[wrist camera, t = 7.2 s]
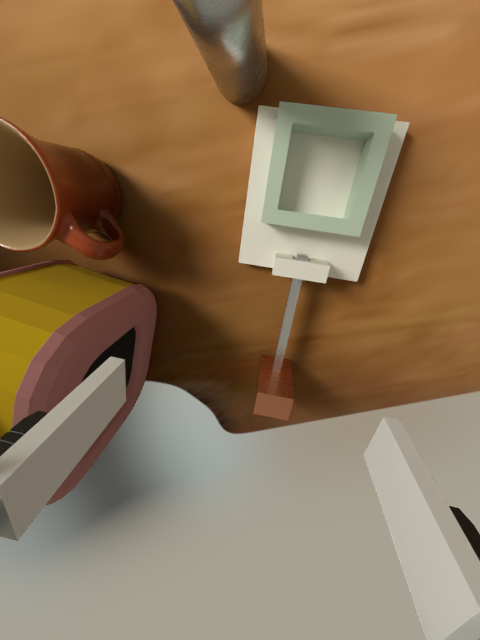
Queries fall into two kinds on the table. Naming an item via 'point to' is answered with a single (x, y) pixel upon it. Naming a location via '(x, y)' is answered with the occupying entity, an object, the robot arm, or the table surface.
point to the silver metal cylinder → (229, 43)
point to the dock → (317, 188)
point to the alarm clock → (69, 342)
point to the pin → (278, 366)
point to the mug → (55, 196)
